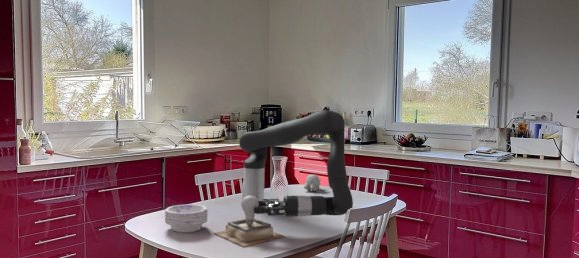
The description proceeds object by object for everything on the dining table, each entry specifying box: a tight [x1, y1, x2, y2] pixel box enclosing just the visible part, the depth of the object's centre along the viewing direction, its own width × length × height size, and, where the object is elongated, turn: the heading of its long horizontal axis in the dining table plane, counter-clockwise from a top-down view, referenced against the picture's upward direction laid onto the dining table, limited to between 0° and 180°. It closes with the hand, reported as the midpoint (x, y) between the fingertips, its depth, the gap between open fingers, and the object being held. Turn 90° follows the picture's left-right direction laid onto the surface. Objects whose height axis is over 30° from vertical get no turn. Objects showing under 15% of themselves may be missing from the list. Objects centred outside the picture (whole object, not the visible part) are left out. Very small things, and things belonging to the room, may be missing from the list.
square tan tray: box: [213, 217, 286, 248], centre depth 169 cm, size 18×18×4 cm
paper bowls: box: [164, 203, 208, 233], centre depth 175 cm, size 15×15×8 cm
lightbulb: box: [240, 195, 259, 226], centre depth 168 cm, size 6×6×11 cm
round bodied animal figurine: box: [303, 174, 321, 192], centre depth 247 cm, size 7×12×8 cm, turn 148°
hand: (252, 207), depth 168 cm, fingers open, 8 cm apart
